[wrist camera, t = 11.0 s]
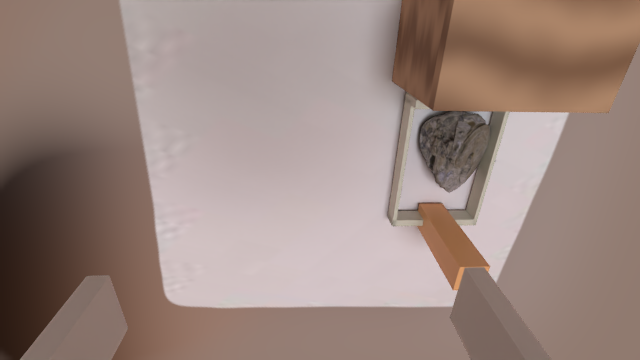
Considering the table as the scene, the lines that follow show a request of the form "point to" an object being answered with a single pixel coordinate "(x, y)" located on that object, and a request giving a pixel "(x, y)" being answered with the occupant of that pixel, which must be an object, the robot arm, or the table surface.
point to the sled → (435, 218)
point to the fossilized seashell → (454, 146)
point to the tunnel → (516, 53)
